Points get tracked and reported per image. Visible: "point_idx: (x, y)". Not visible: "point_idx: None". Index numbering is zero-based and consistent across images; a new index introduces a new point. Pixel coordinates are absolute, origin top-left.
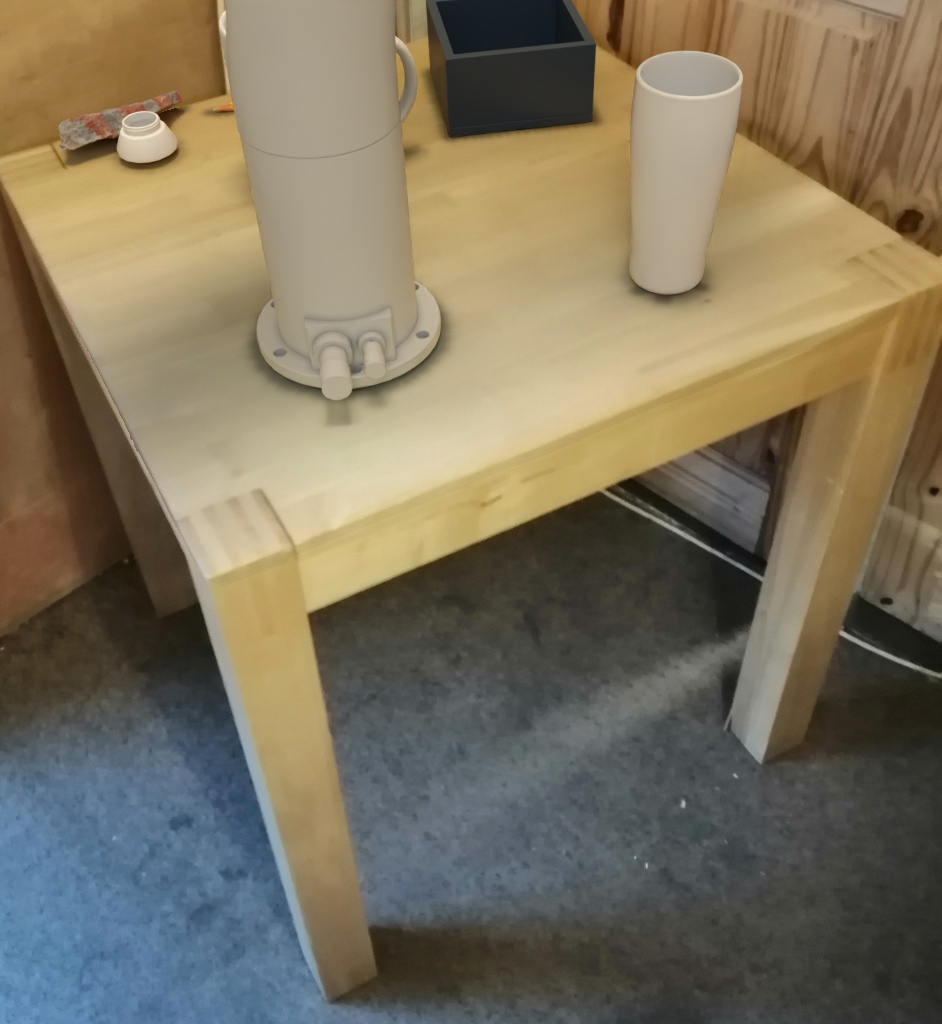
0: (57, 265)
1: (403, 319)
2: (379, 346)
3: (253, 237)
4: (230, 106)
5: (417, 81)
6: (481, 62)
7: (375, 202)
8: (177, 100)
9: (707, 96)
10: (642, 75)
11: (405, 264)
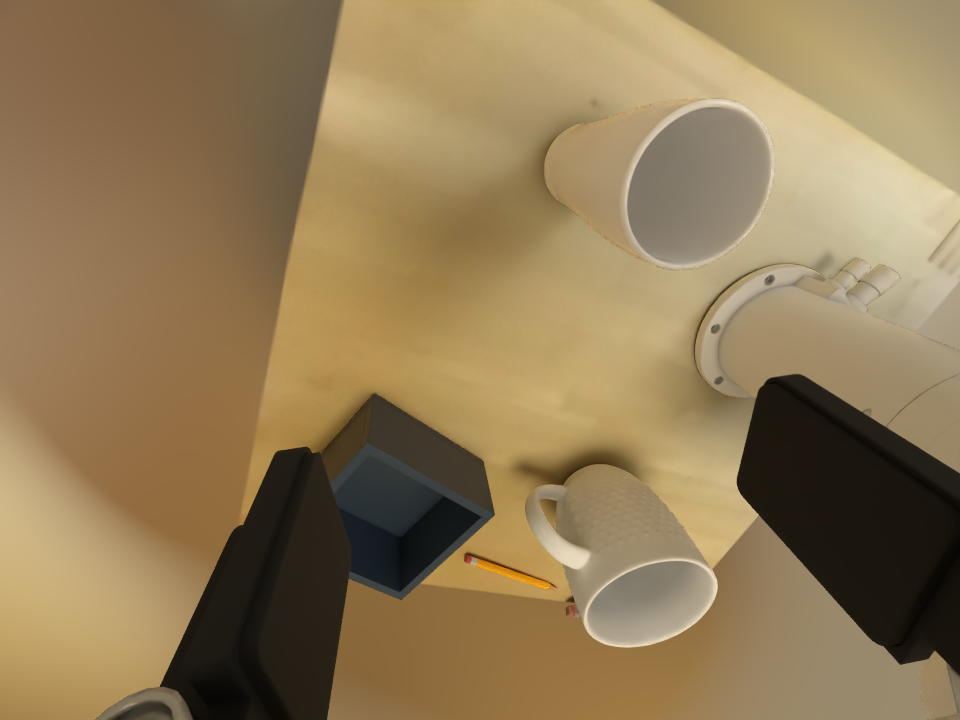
0: (756, 514)
1: (795, 292)
2: (842, 280)
3: (681, 460)
4: (549, 585)
5: (533, 506)
6: (467, 494)
7: (929, 340)
8: (574, 607)
9: (762, 123)
10: (689, 258)
11: (823, 312)
